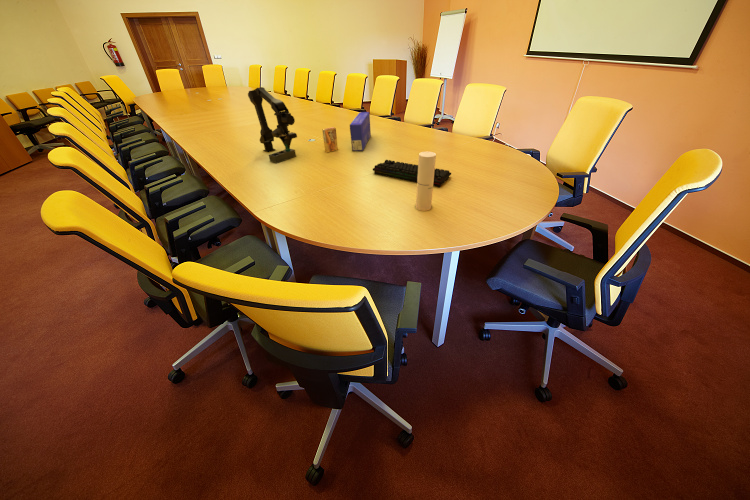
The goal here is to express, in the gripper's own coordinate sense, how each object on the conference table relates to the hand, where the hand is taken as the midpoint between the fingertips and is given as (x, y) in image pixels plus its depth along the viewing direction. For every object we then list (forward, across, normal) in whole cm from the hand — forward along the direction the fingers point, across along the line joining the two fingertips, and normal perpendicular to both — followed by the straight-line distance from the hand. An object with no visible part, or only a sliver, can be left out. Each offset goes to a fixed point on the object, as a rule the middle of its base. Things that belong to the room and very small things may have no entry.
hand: (287, 147), depth 197 cm
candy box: (+7, +16, +26) cm, 31 cm away
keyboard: (+7, +89, +17) cm, 91 cm away
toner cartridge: (+7, +24, +51) cm, 57 cm away
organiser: (+6, 0, -5) cm, 8 cm away
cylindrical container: (+7, +114, -12) cm, 115 cm away
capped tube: (+6, 0, 0) cm, 6 cm away
